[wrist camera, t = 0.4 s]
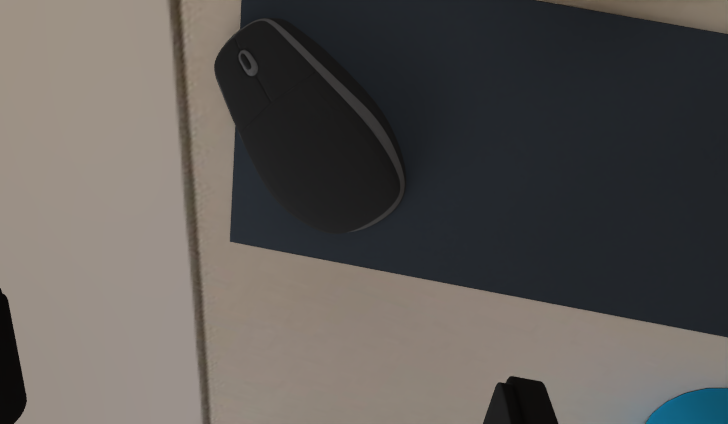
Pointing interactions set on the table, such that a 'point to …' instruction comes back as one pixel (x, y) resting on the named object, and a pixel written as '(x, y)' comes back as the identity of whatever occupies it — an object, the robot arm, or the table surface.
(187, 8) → the table surface
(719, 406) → the mug
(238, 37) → the computer mouse
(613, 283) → the mat
